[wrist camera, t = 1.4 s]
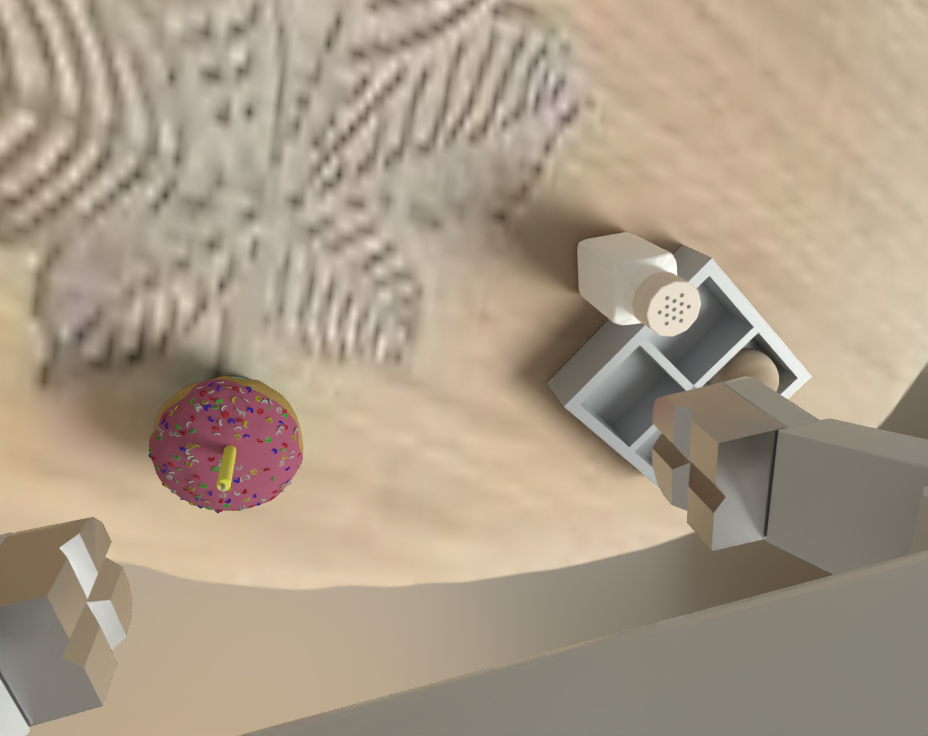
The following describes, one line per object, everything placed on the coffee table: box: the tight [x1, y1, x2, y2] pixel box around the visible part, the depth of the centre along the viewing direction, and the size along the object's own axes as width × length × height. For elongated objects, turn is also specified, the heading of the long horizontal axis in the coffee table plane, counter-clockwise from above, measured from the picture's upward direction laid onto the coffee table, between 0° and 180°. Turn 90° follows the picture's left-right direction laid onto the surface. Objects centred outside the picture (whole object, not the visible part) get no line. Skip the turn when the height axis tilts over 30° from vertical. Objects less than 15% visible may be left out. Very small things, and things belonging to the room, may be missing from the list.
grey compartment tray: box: [546, 245, 812, 487], centre depth 46 cm, size 13×13×4 cm
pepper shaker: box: [577, 232, 701, 336], centre depth 39 cm, size 4×4×10 cm
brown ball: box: [708, 347, 779, 392], centre depth 46 cm, size 5×5×5 cm
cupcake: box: [149, 376, 303, 513], centre depth 37 cm, size 9×8×12 cm
